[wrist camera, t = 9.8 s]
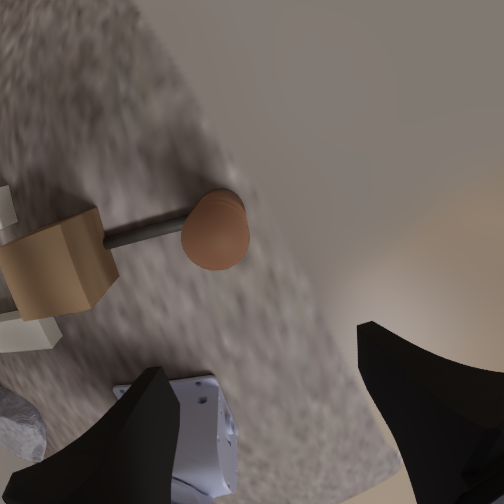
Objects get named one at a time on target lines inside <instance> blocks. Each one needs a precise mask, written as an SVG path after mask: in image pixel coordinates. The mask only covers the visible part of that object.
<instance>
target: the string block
mask: <svg viewBox="0 0 504 504" xmlns="http://www.w3.org/2000/svg"><path fill="white" fill-rule="evenodd" d="M181 230H182V232H181V242H182V246H183V249H184V251H185V253H186V255H187V256H188V257H189V259H190V260H191V261H192V262H194V263H195V264H196V265H198V266H200V267H202V268H204V269H208V270H224V269H227V268H230V267H232V266H234V265H235V264H237V263H238V262H239V261H240V260H241V259H242V258H243V257H244V255H245V253H246V252H247V249H248V246H249V241H250V234H249V228H248V223H247V218H246V213H245V208H244V204H243V202H242V200H241V199H240V198H239V196H238V195H236V194H235V193H234V192H232V191H229V190H226V189H216V190H212V191H210V192H208V193H207V194H206V195H204V196H203V198H202V199H201V200H200V201H199V203H198V204H197V205H196V207H195V208H194V209H193V211H192V212H191V213H190V215H187V216H183V217H179V218H176V219H172V220H168V221H164V222H160V223H157V224H153V225H149V226H145V227H142V228H138V229H135V230H131V231H127V232H124V233H120V234H117V235H113V236H110V237H106V235H105V232H104V229H103V225H102V222H101V219H100V215H99V212H98V208H97V207H96V208H93V209H90V210H87V211H84V212H82V213H79V214H76V215H73V216H70V217H68V218H65V219H62V220H59V221H57V222H54V223H51V224H49V225H46V226H44V227H41V228H39V229H36V230H34V231H32V232H30V233H27V234H25V235H23V236H21V237H19V238H17V239H15V240H13V241H11V242H9V243H7V244H5V245H3V246H2V247H0V267H1V270H2V272H3V275H4V277H5V280H6V283H7V285H8V288H9V290H10V292H11V295H12V297H13V299H14V302H15V304H16V306H17V308H18V310H19V313H20V315H21V317H22V319H23V321H24V322H25V321H31V320H37V319H42V318H48V317H53V316H59V315H64V314H70V313H75V312H80V311H85V310H91V309H92V308H93V307H94V306H95V304H96V303H97V302H98V301H99V300H100V298H101V297H102V296H103V295H104V294H105V292H106V291H107V290H108V289H109V288H110V286H111V285H112V284H113V283H114V282H115V281H116V279H117V278H118V277H119V273H118V270H117V268H116V265H115V262H114V259H113V256H112V253H111V250H110V249H112V248H115V247H119V246H123V245H126V244H130V243H134V242H138V241H141V240H145V239H149V238H153V237H157V236H161V235H165V234H169V233H173V232H177V231H181Z"/></svg>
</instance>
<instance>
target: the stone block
mask: <svg viewBox="0 0 504 504" xmlns="http://www.w3.org/2000/svg"><path fill="white" fill-rule="evenodd" d="M46 442H47V440H46V425H45V423H44V421H43V419H42V417H41V415H40V413H39V412H38V410H37V409H36V408H35V407H34V406H33V405H31V404H30V403H29V402H27V401H26V400H24V399H23V398H22V397H20V396H19V395H17V394H14V393H12V392H11V391H8V390H6V389H5V388H3V387H2V386H1V385H0V443H1V444H2V445H3V446H4V447H6V448H7V449H8V450H9V451H11V452H13V453H14V454H16V455H18V456H20V457H21V458H24V459H28V460H31V461H33V462H35V461H37V462H41V461H43V459H44V453H45V448H46Z"/></svg>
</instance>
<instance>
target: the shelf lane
mask: <svg viewBox="0 0 504 504" xmlns="http://www.w3.org/2000/svg"><path fill="white" fill-rule="evenodd" d="M16 222H18V220H17V216H16V213H15V209H14V205H13V201H12V197H11V193H10V189H9V185H7V186H3V187H0V230H1V229H3V228H5V227H8V226H10V225H12V224H14V223H16ZM62 336H63V335H62V333H61V331H60V329H59V327H58V325H57V323H56V321H55V319H54V317H48V318H42V319H37V320H31V321H25V322H24V321H23V319H22V317H21V315H20V313H19V310H17V311H12V312H7V313H2V314H0V353H5V352H19V351H32V350H43V349H53V347H54V346H55V345H56V344H57V342H58V341H59V340H60V338H61V337H62Z"/></svg>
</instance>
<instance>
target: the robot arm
mask: <svg viewBox="0 0 504 504" xmlns="http://www.w3.org/2000/svg"><path fill="white" fill-rule="evenodd" d="M357 345H358V368H359V371H360V373H361V376H362V378H363V381H364V383H365V386H366V388H367V390H368V392H369V394H370V396H371V397H372V399H373V401H374V403H375V404H376V406H377V408H378V410H379V411H380V413H381V415H382V417H383V418H384V420H385V421H386V424H387V425H388V427H389V429H390V430H391V433H392V435H393V437H394V438H395V441H396V443H397V446H398V448H399V451H400V453H401V456H402V458H403V461H404V464H405V467H406V470H407V472H408V475H409V478H410V481H411V484H412V488H413V491H414V494H415V498H416V501H417V504H504V373H502V372H494V371H489V370H484V369H479V368H475V367H470V366H467V365H463V364H460V363H457V362H454V361H451V360H448V359H445V358H443V357H440V356H438V355H435V354H433V353H431V352H429V351H427V350H424V349H422V348H420V347H418V346H416V345H414V344H412V343H410V342H409V341H407V340H405V339H403V338H401V337H399V336H398V335H396V334H394V333H392V332H391V331H389V330H387V329H386V328H384V327H382V326H380V325H378V324H377V323H375V322H373V321H370V322H367V323H364V324H360V325H357ZM197 382H200V383H197ZM122 390H124V391H122ZM113 393H114V394H115V396H116V397H117V399H118V401H117V402H116V403H115V404H114V405H113V406H112V407H111V408H110V409H109V411H108V412H107V413H106V414H105V415H104V416H103V417H102V418H101V419H100V420H99V421H98V422H97V423H96V424H94V425H93V426H92V427H91V428H90V429H89V430H88V431H86V432H85V433H84V434H83V435H82V436H80V437H79V438H78V439H76V440H75V441H73V442H72V443H71V444H69V445H68V446H66V447H65V448H63V449H62V450H60V451H59V452H57V453H55V454H54V455H52V456H50V457H48V458H47V459H45V460H43V461H41V462H39V463H37V464H34V465H32V466H30V467H27V468H25V469H22V470H20V471H17V472H14V473H13V474H12V475H11V477H10V480H9V482H8V484H7V486H6V489H5V491H4V493H3V495H2V499H3V500H4V502H5V503H6V504H213V498H215V497H218V496H222V495H227V494H231V493H234V492H236V490H237V485H238V461H237V435H238V429H237V427H236V424H235V422H234V420H233V417H232V415H231V413H230V410H229V408H228V405H227V403H226V400H225V398H224V395H223V393H222V390H221V388H220V385H219V383H218V380H217V378H216V377H215V376H213V375H207V376H200V377H193V378H186V379H179V380H171V381H169V380H168V378H167V376H166V374H165V372H164V370H163V368H162V366H159V367H151V368H147V369H146V370H145V371H144V372H143V373H142V374H141V375H140V376H139V377H138V378H137V379H136V380H135V382H134V383H133V384H131V385H118V386H114V388H113Z"/></svg>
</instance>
